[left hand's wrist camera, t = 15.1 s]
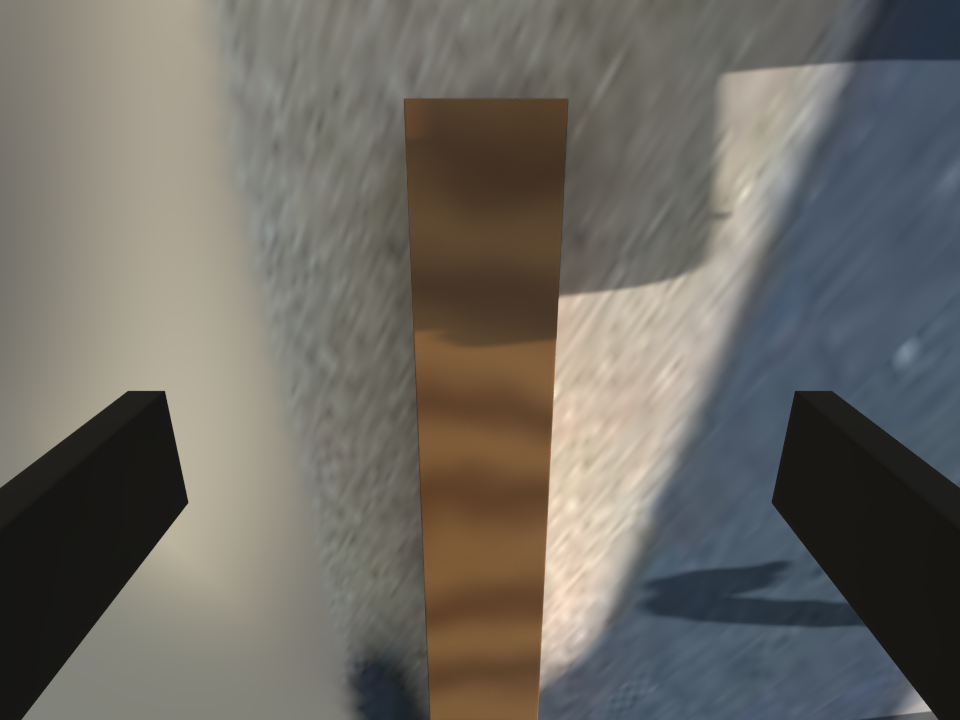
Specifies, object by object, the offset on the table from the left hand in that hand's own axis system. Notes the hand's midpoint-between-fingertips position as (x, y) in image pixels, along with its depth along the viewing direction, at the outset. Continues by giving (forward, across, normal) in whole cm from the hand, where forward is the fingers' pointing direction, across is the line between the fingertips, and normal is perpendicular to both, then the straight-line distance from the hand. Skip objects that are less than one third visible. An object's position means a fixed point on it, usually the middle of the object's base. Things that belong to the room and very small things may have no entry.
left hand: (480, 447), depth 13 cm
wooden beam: (+32, 0, -28) cm, 42 cm away
